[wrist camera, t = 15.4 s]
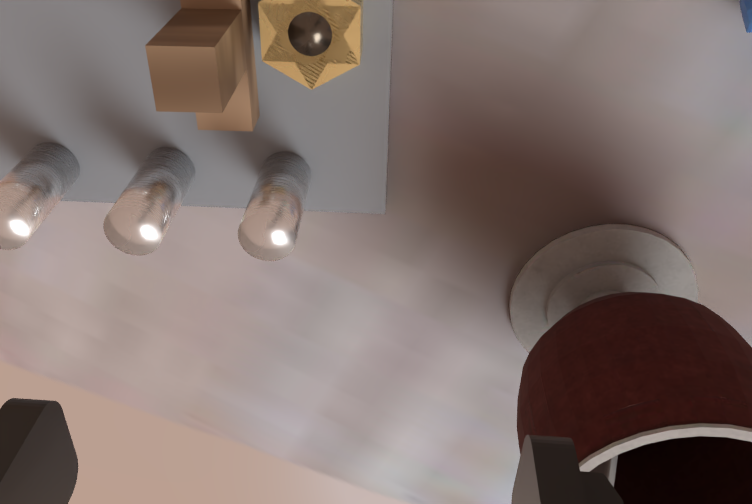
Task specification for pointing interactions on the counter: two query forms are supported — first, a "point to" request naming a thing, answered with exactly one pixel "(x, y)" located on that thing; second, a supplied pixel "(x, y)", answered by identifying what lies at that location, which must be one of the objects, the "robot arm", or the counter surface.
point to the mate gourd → (634, 368)
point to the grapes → (747, 14)
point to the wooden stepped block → (207, 65)
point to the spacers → (154, 200)
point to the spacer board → (179, 129)
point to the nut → (311, 38)
